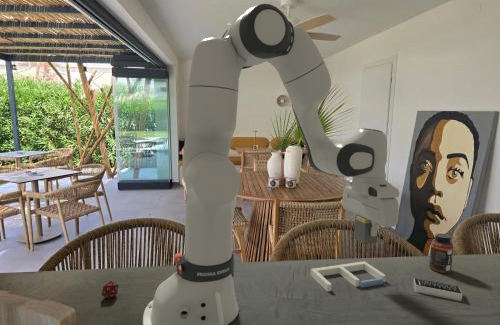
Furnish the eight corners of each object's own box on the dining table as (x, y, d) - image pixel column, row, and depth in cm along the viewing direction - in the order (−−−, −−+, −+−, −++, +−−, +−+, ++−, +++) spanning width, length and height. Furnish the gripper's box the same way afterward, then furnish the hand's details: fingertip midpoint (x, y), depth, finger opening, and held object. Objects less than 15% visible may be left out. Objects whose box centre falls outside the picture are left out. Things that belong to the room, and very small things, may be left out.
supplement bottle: (454, 275, 92) (458, 239, 91) (433, 273, 93) (436, 238, 92) (446, 266, 98) (449, 232, 97) (426, 264, 99) (428, 231, 98)
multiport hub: (462, 302, 78) (462, 294, 78) (414, 292, 83) (415, 285, 82) (458, 294, 82) (458, 286, 82) (413, 285, 87) (413, 277, 86)
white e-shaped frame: (329, 293, 81) (329, 286, 81) (310, 275, 91) (310, 268, 91) (387, 283, 87) (387, 276, 87) (364, 267, 97) (364, 261, 96)
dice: (100, 302, 76) (99, 288, 76) (105, 293, 80) (104, 279, 80) (116, 301, 77) (115, 286, 76) (120, 291, 81) (119, 277, 81)
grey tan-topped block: (363, 244, 85) (365, 220, 84) (354, 238, 90) (355, 215, 89) (377, 242, 87) (378, 218, 86) (366, 236, 91) (368, 214, 90)
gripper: (338, 179, 95) (336, 221, 97) (384, 193, 76) (381, 246, 77) (355, 178, 97) (353, 220, 99) (404, 192, 77) (400, 243, 79)
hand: (365, 231), depth 88 cm, fingers closed on grey tan-topped block, 4 cm apart
